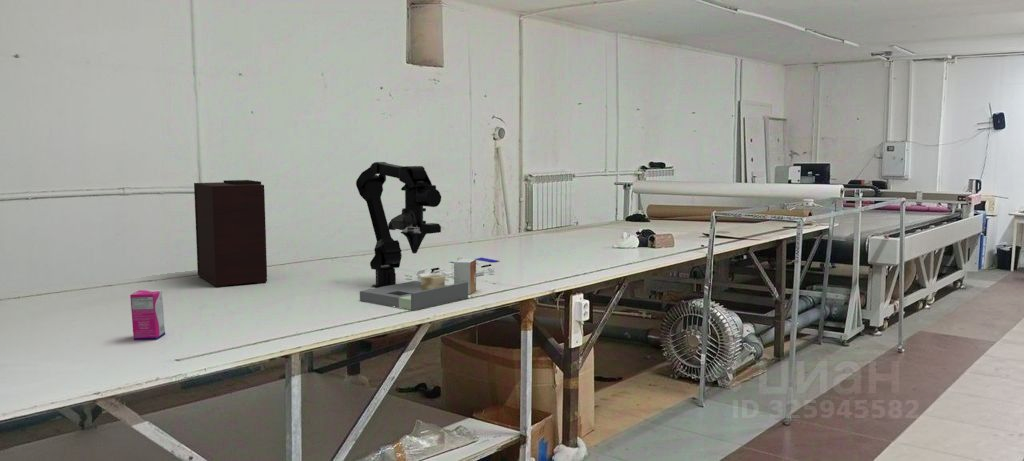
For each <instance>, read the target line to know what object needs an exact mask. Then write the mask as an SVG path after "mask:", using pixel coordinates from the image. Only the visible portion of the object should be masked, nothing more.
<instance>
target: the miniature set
mask: <svg viewBox="0 0 1024 461" xmlns="http://www.w3.org/2000/svg"><path fill="white" fill-rule="evenodd" d="M460 259H464V258H463V257H460V256H459V257H457V258H456V261H458V260H460ZM485 262H486V261H479V262H478V261H476V269H478V265H479V264H480V265H479V267H480V268H483V269H480V270H476V277H480V276H484V274H485V269H484V268H487V271H488V272H489V274H493V273H495V267H491V266H492V264H490V263H489V264H484V265H483V264H482V263H485ZM450 269H451V271H448V272H447V271H446V270H445V268H441V269H440V267H439V266H437V267H433V268H431V269H430V270H431V271H430V272H429V271H427V268H420V269H418V270H416V272H415V275H416V276H417V281H421V277H423V276H428V275H431V274H434V273H435V274H436V273H437V274H438V273H440V274H439V276H443V275H444V276H446V277H449V276H450V274H451V276H452V277H453V278H454V264H452V265H450ZM452 270H453V271H452ZM404 276H405V277H408V278H412V277H413V274H410V273H405V274H404Z"/></svg>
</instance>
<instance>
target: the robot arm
mask: <svg viewBox="0 0 1024 461" xmlns="http://www.w3.org/2000/svg"><path fill="white" fill-rule="evenodd" d="M357 177H358V178H357V179H356V181H355V185H356V188H357V191H358V193H359V196H360V198H362V199H363V200H364V201H365V202H366V206H367V208H368V212H369V217H370V220H371V224H372V228H373V232H374V235H375V240H376V244H375V245H374V246H375V247H374V256H373V258H372V259H371V261H370V262H369V265H370V269H371V270H374V271H375V284H372V287H374V288H379V287H384V286H389V285H395V284H397V282H396V281H397V278H396V277H397V275H396V274H397V273H396V269H398V268H400V265H401V260H402V257H403V255H402V251H403V250H402V249H401V246H400V245H401V244H400V241H399V240H398V239H397V240H394V239H393V237H392V235H391V231H396V230H399V231H400V233H401V234H402V235H403V236H404V237H406V239H407V241H408V243H409V247H410V248H409V249H410V250H411V253H412V254H417V253H418V251H419V249H420V246H421V245H422V242H423V240H424V239H425V236H427V235H428V234H429V235H430V234H437V233H442V226H441V225H440V224H439V223H437V222H434V223H433V222H428V223H427V221H426V220H424V212H426V211H427V209H426V208H425V207H431V208H436V207H438V206H439V205H440V203H441V201H442V195H441V193H440V190H438V189H437V185H435V184H432V181H431V180H430V179H431V178H430V177H429V175H428V173H427V171H426V169H425V167H424V166H423V165H409V166H408V165H406V166H403V165H397V164H393V163H388V162H386V161H375V162H373V163H371V165H370V166H369V167H368V168H366V169H365V170H364V171H362V172H361V173H360V175H359V176H357ZM387 177H391V178H396V179H398V180H399V181H400V182H401V183H403V184H404V185H403V186H402V187H401V188H400V190H401V191H404V207H402V210H401V213H400V214H398V215H396V216H395V217H393V218H391V219H390V221H389V222H388V220H387V216H386V212H385V209H384V205H383V202H382V194H383V191H384V187H383V185H384V184H385V183H386V181H387Z"/></svg>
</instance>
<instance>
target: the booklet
mask: <svg viewBox="0 0 1024 461" xmlns="http://www.w3.org/2000/svg"><path fill="white" fill-rule="evenodd" d="M475 259H476V261H479V262H484V261H486V262H487V263H496V262H499V260H496V259H491V258H486V257H478V258H475ZM454 262H455V261H449V263H451V264H454Z"/></svg>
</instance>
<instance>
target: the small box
mask: <svg viewBox="0 0 1024 461" xmlns="http://www.w3.org/2000/svg"><path fill="white" fill-rule="evenodd" d="M476 259H477V258H463V259H460V260H458V261H457V260H456V261H453V262H454V263H453V266H454V267H453V271H454V273H453V274H454V277H453V284H457V283H462V282H468V295H471V294H472V293H474V292H476V291H477V276H476V271H477V268H476V267H477V264H476V262H477V260H476Z"/></svg>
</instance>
